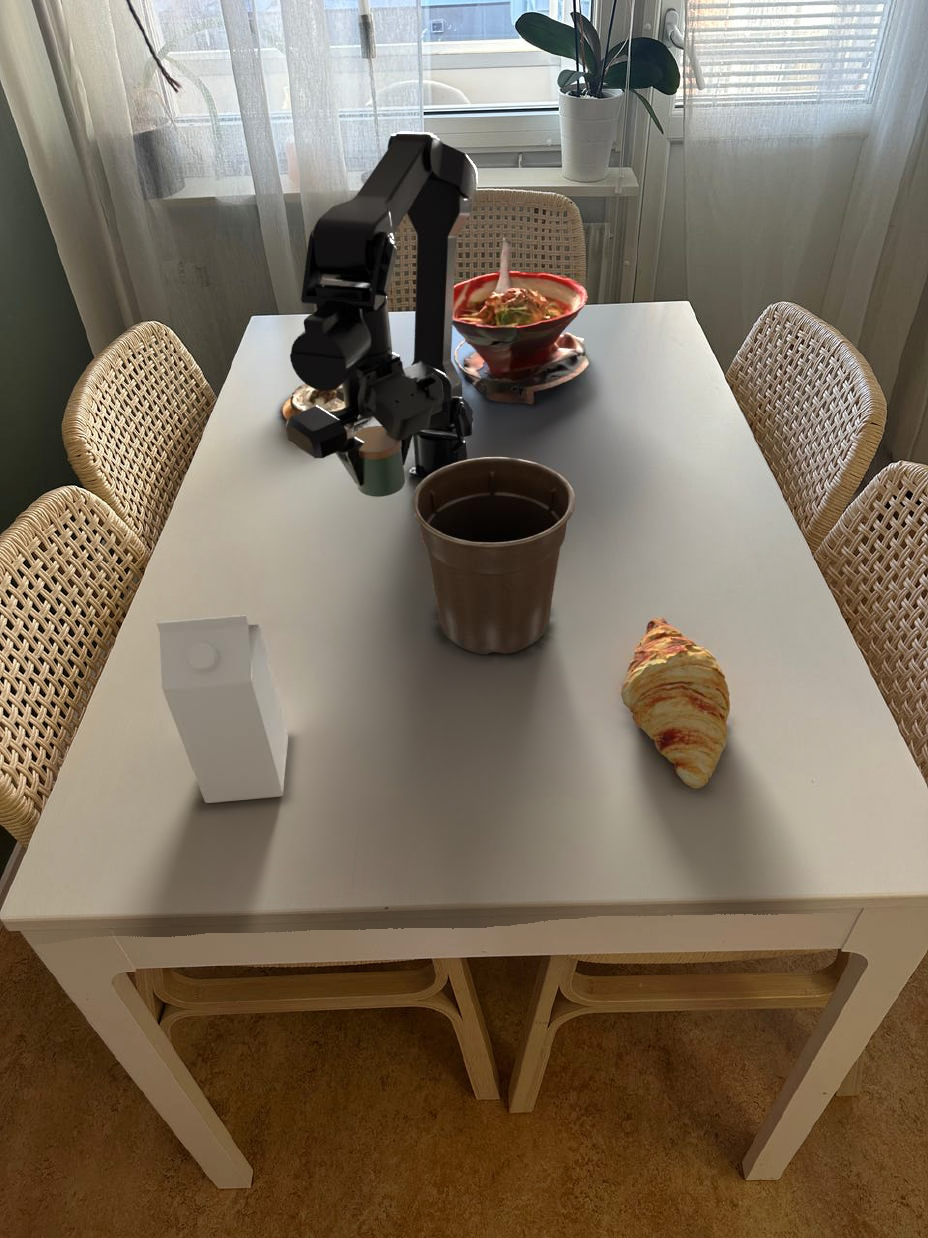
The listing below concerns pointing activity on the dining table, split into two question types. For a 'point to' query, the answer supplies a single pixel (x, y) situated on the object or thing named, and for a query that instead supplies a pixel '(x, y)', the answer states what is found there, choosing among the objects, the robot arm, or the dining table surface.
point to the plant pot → (493, 548)
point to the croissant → (679, 700)
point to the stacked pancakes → (312, 401)
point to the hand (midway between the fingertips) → (379, 474)
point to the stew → (519, 330)
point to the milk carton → (225, 706)
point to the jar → (380, 462)
